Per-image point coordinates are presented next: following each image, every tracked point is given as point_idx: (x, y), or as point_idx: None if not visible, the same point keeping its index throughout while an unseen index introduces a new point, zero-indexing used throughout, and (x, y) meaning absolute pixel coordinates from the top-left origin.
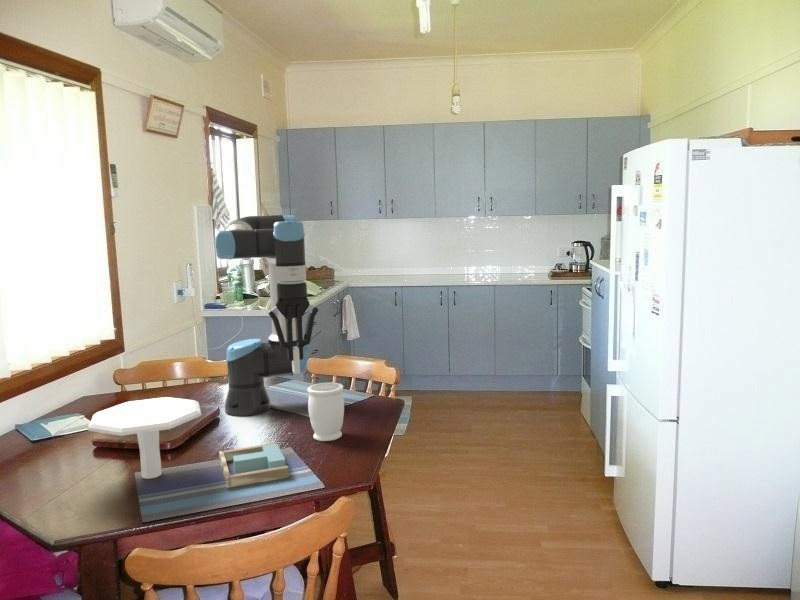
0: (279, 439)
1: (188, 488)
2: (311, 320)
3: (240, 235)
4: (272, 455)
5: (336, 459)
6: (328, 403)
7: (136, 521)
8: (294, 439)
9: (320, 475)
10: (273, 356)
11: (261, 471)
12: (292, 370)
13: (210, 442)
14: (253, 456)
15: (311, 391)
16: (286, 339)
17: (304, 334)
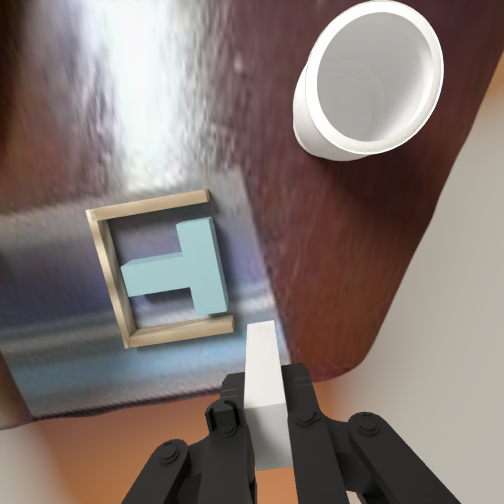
0: (213, 107)
1: (67, 324)
2: None
3: None
4: (201, 285)
5: (326, 264)
6: (358, 155)
7: (22, 413)
8: (248, 118)
9: (288, 328)
10: None
11: (184, 336)
12: (247, 326)
13: (49, 81)
14: (163, 280)
15: (316, 122)
16: (202, 477)
17: (384, 482)
